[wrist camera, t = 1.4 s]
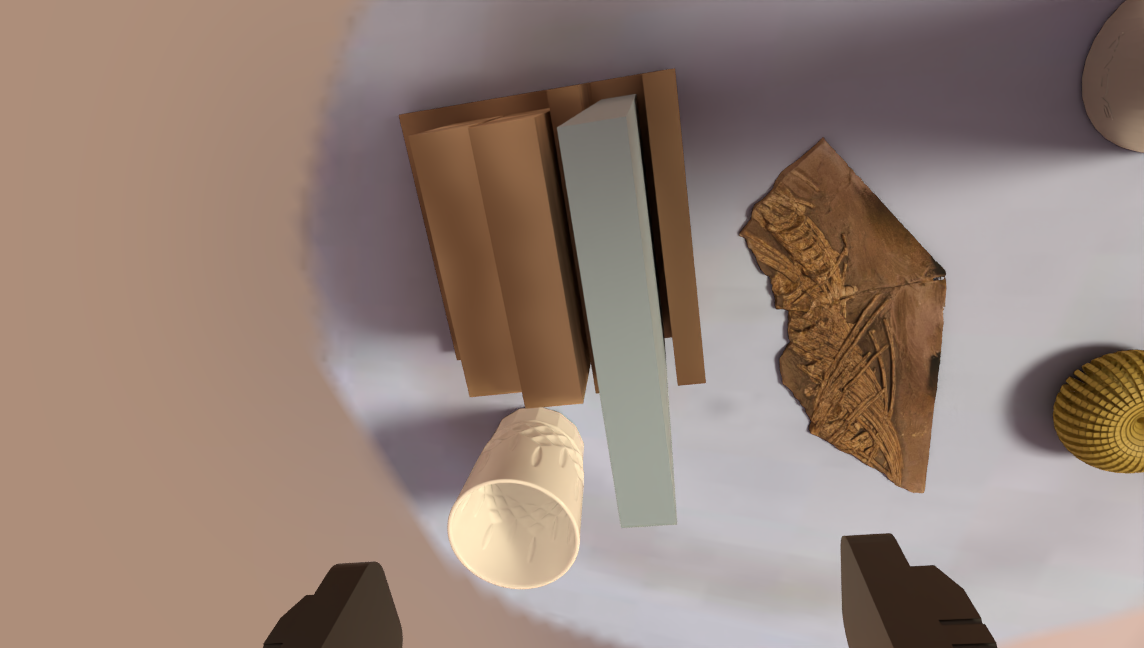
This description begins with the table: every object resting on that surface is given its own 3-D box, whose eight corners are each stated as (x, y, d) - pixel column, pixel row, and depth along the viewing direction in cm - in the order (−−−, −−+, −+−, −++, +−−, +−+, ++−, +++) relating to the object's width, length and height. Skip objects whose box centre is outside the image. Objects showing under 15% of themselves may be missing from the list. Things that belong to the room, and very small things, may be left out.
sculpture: (1122, 508, 41) (1049, 423, 39) (1082, 472, 44) (1014, 392, 43) (1257, 434, 38) (1185, 339, 36) (1203, 402, 42) (1135, 314, 40)
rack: (668, 69, 38) (674, 68, 30) (695, 326, 43) (705, 382, 35) (407, 113, 40) (349, 123, 32) (462, 351, 46) (424, 409, 38)
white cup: (464, 445, 49) (421, 534, 39) (532, 377, 46) (503, 454, 37) (543, 510, 50) (520, 610, 41) (614, 447, 47) (607, 539, 38)
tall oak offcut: (561, 105, 38) (534, 117, 29) (596, 330, 43) (583, 403, 33) (511, 114, 38) (467, 128, 29) (551, 335, 43) (525, 408, 34)
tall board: (636, 93, 37) (626, 116, 19) (663, 323, 42) (677, 524, 23) (601, 99, 37) (556, 127, 19) (632, 326, 42) (620, 528, 24)
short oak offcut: (502, 115, 38) (468, 126, 31) (544, 336, 43) (522, 392, 36) (453, 123, 39) (408, 136, 31) (499, 341, 44) (469, 397, 36)
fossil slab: (721, 171, 40) (723, 174, 39) (910, 106, 38) (917, 107, 37) (819, 511, 48) (823, 520, 47) (980, 474, 46) (987, 483, 45)
